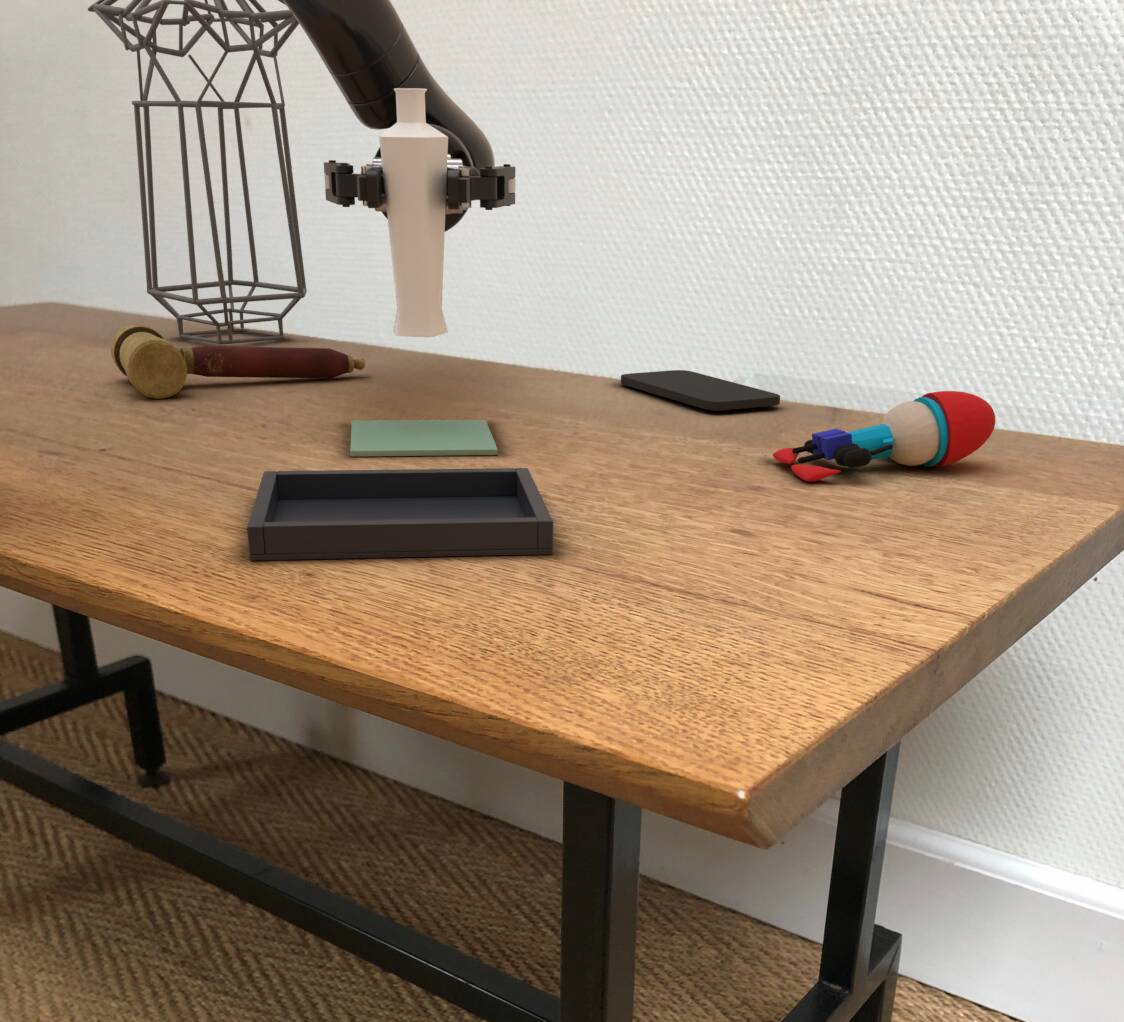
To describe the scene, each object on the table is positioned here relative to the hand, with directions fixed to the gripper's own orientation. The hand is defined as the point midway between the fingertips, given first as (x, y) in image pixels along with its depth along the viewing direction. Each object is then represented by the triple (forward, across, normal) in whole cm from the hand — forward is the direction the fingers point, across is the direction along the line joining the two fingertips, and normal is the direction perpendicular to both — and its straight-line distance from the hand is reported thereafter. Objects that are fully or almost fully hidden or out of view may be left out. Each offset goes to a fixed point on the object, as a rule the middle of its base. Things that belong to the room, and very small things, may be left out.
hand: (413, 190), depth 81 cm
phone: (-20, +22, +17) cm, 35 cm away
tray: (+20, 0, +16) cm, 25 cm away
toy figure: (+5, +32, +17) cm, 36 cm away
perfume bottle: (-3, 0, +9) cm, 10 cm away
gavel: (-24, -16, +17) cm, 34 cm away
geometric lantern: (-49, -22, +17) cm, 56 cm away
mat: (-2, 0, +16) cm, 17 cm away
